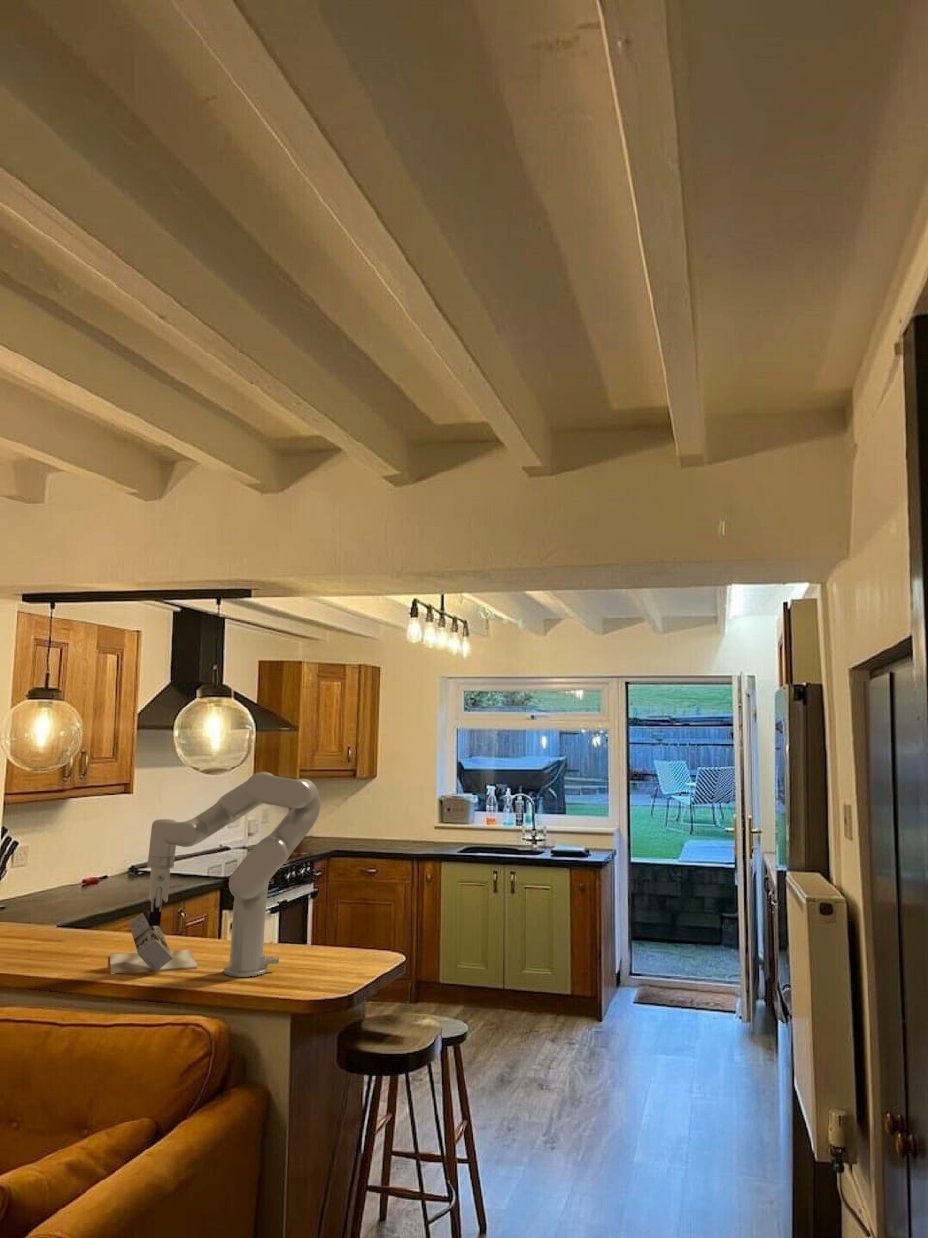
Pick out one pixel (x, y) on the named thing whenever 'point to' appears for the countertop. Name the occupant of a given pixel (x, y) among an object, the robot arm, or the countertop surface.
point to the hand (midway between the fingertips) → (154, 925)
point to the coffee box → (150, 942)
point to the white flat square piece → (137, 965)
